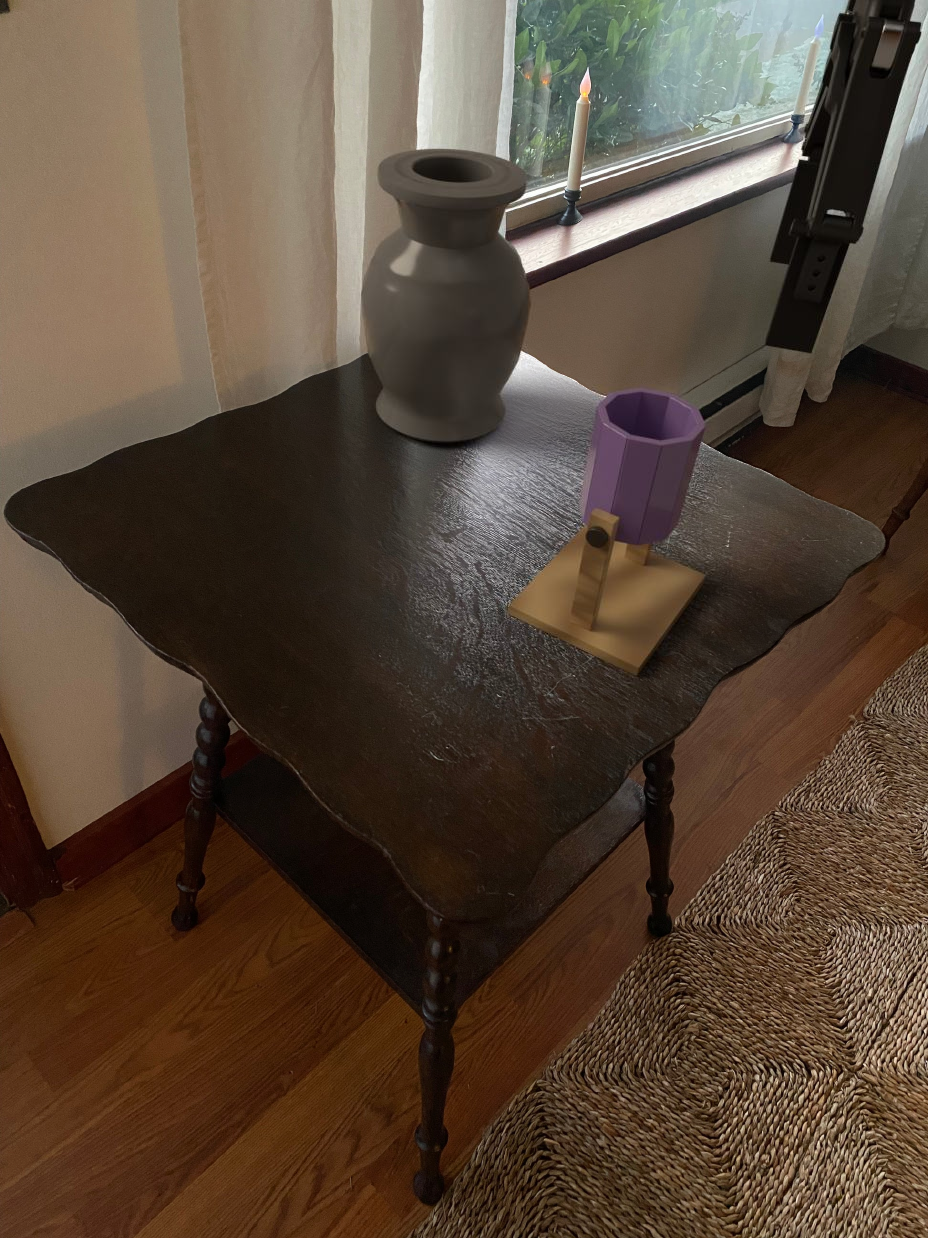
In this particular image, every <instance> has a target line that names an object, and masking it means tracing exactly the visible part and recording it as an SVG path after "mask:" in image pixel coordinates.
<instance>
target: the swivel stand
mask: <svg viewBox="0 0 928 1238" xmlns="http://www.w3.org/2000/svg"><path fill="white" fill-rule="evenodd" d="M619 519H620V518H619V517H617V516H615V515H612V514H610V513H608V512H605V511H603V510H600V509H598V508H595V509H594V510H593V512H592V513H591V514H590V517H589V523H588V526H587V525H586V524H584V525H583V527H581V529H580V530H579V531H578V532H577V533H576V534H575V535H574V536H573V537H572V538H571V539H570V540H569V542H568V543H566V545H564V546H563V547H562V549H561V550H560V551H559V552H558V553H557V554H556V555H555V556H554V557H553V558H552V559H551V561H549V562H548V563H547V564H546V565H545V566H544V568H542V570H541V571H540V572H539V573H538V574H537V575H536V576H535V577H534V578H533V579H532V580H531V581H530V582H529V583H528V585H526V586H525V588H524V589H522V591H521V592H520V593H519V594H518V595H517V596H516V597H515V598H514V599H513V600H512V601H511V602H510V603H509V604H508V609H507V615H509V616H511V617H514V618H515V619H518V620H519V621H522V622H523V623H526V624H527V625H530V626H532V627H534V628H536V629H538V630H540V631H542V632H545V633H546V634H549V635H550V636H553V637H555V638H557V639H559V640H561V641H563V642H565V643H567V644H569V645H571V646H573V647H575V648H578V649H580V650H581V651H584V652H586V653H588V654H590V655H592V656H594V657H596V658H598V659H600V660H602V661H605V662H606V663H608V664H610V665H613V666H615V667H616V668H619V669H621V670H623V671H624V672H627V673H629V674H631V675H633V676H635V677H638V675H639V674H640V673H641V671H642V670H643V668H644V667H645V666H646V664H647V663H648V662H649V660H651V659H650V658H651V657H652V656H653V655H654V653H655V652H656V650H657V649H658V648H659V647H660V645H661V644H662V642H663V641H664V639H665V637H667V635H668V633H669V632H670V631H671V629H672V628H673V627H674V625H675V624H676V622H677V621H678V620H679V618H680V617H681V616H682V614H683V613H684V611H685V610H686V609H687V607H688V606H689V604H690V603H691V602H692V600H693V599H694V598H695V596H696V595H697V593H698V592H699V591H700V589H702V586H703V584H704V583H705V581H706V577H707V574H705V573H703V572H701V571H698V570H696V569H693V568H691V567H689V566H686V565H684V564H682V563H679V562H677V561H674V560H672V559H669V558H667V557H665V556H663V555H660V554H658V553H655V552H654V551H652V549H653V546H654V543H649V544H644V545H639V546H638V545H637V546H636V545H631V544H626V543H622V542H617V541H615V537H616V532H617V528H618V524H619Z"/></svg>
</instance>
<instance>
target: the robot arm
mask: <svg viewBox="0 0 928 1238" xmlns="http://www.w3.org/2000/svg"><path fill="white" fill-rule="evenodd" d="M915 4H916V0H848V1H847V5H846V7H845V11H844V12H839V13H838V15H837V18H836V21H835V23H834V26H833V30H832V35H831V40H830V45H829V49H830V50H829V52H828V55H827V59H826V61H825V66H824V71H823V75H822V78H821V79H822V80H821V83H820V86H819V89H818V92H817V95H816V98H815V102H814V104H813V107H812V111H811V113H810V116H809V119H808V122H807V123H805V125H804V129H803V133H804V141H803V142H802V144H801V147H800V150H801V157H805V158H807V159H800V158H799V159H798V162H797V165H796V169H795V171H794V175H793V179H792V182H791V185H790V189H789V192H788V195H787V199H786V202H785V206H784V209H783V213H782V216H781V220H780V223H779V227H778V230H777V233H776V237H775V240H774V243H773V247H772V250H771V253H770V257H769V262H770V263H775V264H782V265H787V269H786V272H785V274H784V279H783V282H782V285H781V287H780V288H781V289H780V292H779V295H778V297H777V301H776V304H775V308H774V310H773V314H772V317H771V320H770V324H769V326H768V330H767V333H766V337H765V340H764V346H766V347H772V348H777V349H783V350H788V351H789V350H790V351H795V352H801V353H806V354H812V353H813V349H814V347H815V344H816V342H817V338H818V336H819V333H820V330H821V327H822V324H823V322H824V319H825V315H826V313H827V311H828V308H829V305H830V301H831V299H832V296H833V293H834V290H835V288H836V284H837V282H838V278H839V276H840V273H841V270H842V267H843V265H844V261H845V259H846V256H847V253H848V250H849V247H850V244H852V245H856V244H857V243H858V242H859V240H860V238H861V237H862V236H863V233H864V228H865V227H864V223H865V219H866V215H867V211H868V208H869V205H870V201H871V198H872V193H873V191H874V187H875V184H876V180H877V176H878V173H879V169H880V166H881V163H882V159H883V155H884V152H885V148H886V144H887V141H888V138H889V135H890V132H891V131H890V130H891V127H892V123H893V121H894V116H895V113H896V110H897V106H898V103H899V100H900V96H901V92H902V89H903V85H904V81H905V78H906V75H907V73H908V70H909V69H908V68H909V66H910V64H911V63H910V62H911V60H912V57H913V54H914V53H915V50H916V46H917V45H918V44H919V42H920V39H921V37H922V31H921V28H922V21H915V20H911V19H912V16H913V12H914V9H915V6H916V5H915ZM829 210H830V211H837V212H842V213H844V214H845V215H841V214H840V215H839V214H833V213H828V211H829Z"/></svg>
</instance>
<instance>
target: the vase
mask: <svg viewBox="0 0 928 1238" xmlns="http://www.w3.org/2000/svg"><path fill="white" fill-rule="evenodd" d="M376 172H377V173H376V176H377V181H378V182H377V183H378V185H379V187H380V188H381V189H382V190H383V191H384V192H385V193H387V194H389V195H390V196H392V197H393V199H394V201H395V202H396V206H397V207H396V208H397V211H398V217H399V221H400V226H399V227H398V228H396V229H395V230H394V231H392V232H390V234H388V235H387V236H385V237H384V238H383V239H382V240H381V241H380V242H379V244H378V245H377V247H376V248H375V251H374V254H373V257H372V258H371V259H370V263H369V264H368V267H367V268H366V272H365V274H364V277H363V280H362V287H361V293H360V296H361V299H360V300H361V312H362V321H363V327H364V335H365V342H366V350H367V354H368V356H369V358H370V361H371V363H372V366H373V369H374V371H375V373H376V375H377V377H378V379H379V381H380V383H381V385H382V387H383V388H382V390H380V393H379V394H378V396H377V398H376V401H375V410H376V413H377V414H378V416H379V418H380V419H381V420H382V421H383V422H384V423H385V424H386V425H388V426H389V427H390V428H392V429H393V430H394V431H396V432H398V433H400V434H401V435H403V436H405V437H409V438H411V439H414V440H418V441H421V442H428V443H433V444H435V443H436V444H455V443H463V442H467V441H472V440H476V439H478V438H480V437H482V436H485V435H486V434H488V433H490V432H491V431H493V430H495V429H496V428H497V427H499V426H500V424H501V423H502V422H503V420H504V418H505V416H506V405H505V403H504V400H503V398H502V396H501V392H502V390H503V389H504V387H505V386H506V385H507V383H508V381H509V379H510V378H511V376H512V375H513V373H514V371H515V368H516V367H517V364H518V363H519V360H520V357H521V353H522V349H523V345H524V340H525V336H526V333H527V329H528V323H529V318H530V312H531V306H532V301H531V299H532V298H531V286H530V283H529V280H528V277H527V273H526V270H525V268H524V266H523V263H522V258H521V256H520V254H519V252H518V250H517V249H516V248H515V246H514V245H513V244H512V243H511V242H510V241H509V240H507V238H505V237H504V235H502V234H501V233H500V232H499V231H500V228H501V226H502V221H503V219H504V215H505V213H506V209H507V208H509V206H510V205H511V204H513V203H515V202H517V201H518V200H520V199H521V198H523V196H524V195H525V193H526V191H527V186H528V176H527V173H526V171H525V170H524V169H523V168H522V167H520V166H519V165H517V164H516V163H514V162H512V161H510V160H508V159H505V158H502V157H499V156H496V155H492V154H490V153H484V152H479V151H473V150H467V149H457V148H423V149H422V148H421V149H413V150H407V151H403V152H398V153H395V154H392V155H389V156H387V157H386V158H384V159H383V160H381V162H380V163H379V164H378V166H377V171H376Z"/></svg>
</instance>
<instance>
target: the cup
mask: <svg viewBox="0 0 928 1238" xmlns="http://www.w3.org/2000/svg"><path fill="white" fill-rule="evenodd" d="M706 426H707V425H706V422H705V420H704V418H703V415H702V413H701V412H700V410H699V408H698V407H697V406H695V405H694V404H692V403H690V402H688V401H687V400H685V399H684V398H682V397H680V396H678V395H676V394H674V393H671V392H667V391H666V392H665V391H660V390H656V389H650V388H646V387H637V388H627V389H622V390H615V391H614V390H613V391H611V392H610V393H609V394H608V395H606V396H605V397H604V398H603V399H602V400H601V401H600V402H598V403H597V405H596V409H595V415H594V420H593V425H592V431H591V436H590V441H589V447H588V452H587V458H586V464H585V469H584V474H583V479H582V486H581V490H580V495H579V502H578V507H579V511H580V515H581V520H582V523H583V524H584V525H587V526H588V523H589V517H590V514H591V513H592V512H593V510H594V509H595V508H598V509H600V510H603V511H605V512H608V513H610V514H612V515H615V516H617V517H619V518H620V519H619V524H618V528H617V532H616V537H615V541H617V542H622V543H626V544H631V545H636V546H637V545H638V546H639V545H644V544H649V543H653V544H654V543H659V542H663V541H666V540H667V539H668V537H669V536H670V535H672V533H673V532H674V530H676V528H677V527H678V526H679V522H680V518H681V516H682V511H683V508H684V505H685V501H686V498H687V494H688V490H689V487H690V483H691V480H692V476H693V472H694V469H695V466H696V463H697V458H698V455H699V452H700V447H701V444H702V442H703V438H704V434H705V431H706Z"/></svg>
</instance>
